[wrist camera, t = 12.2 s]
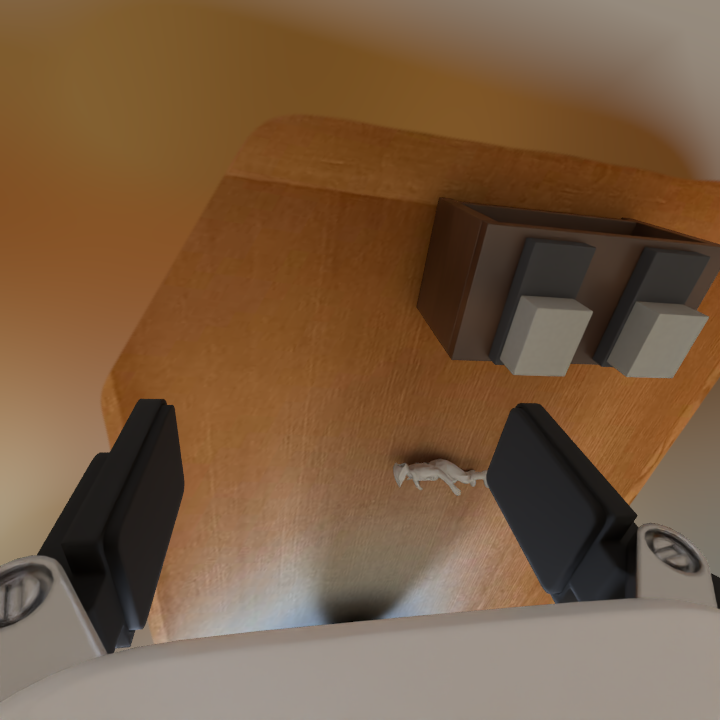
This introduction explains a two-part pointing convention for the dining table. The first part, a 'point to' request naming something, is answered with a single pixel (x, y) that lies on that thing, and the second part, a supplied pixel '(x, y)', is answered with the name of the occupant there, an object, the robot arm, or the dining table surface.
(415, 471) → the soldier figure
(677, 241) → the shoe rack
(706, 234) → the dining table surface
